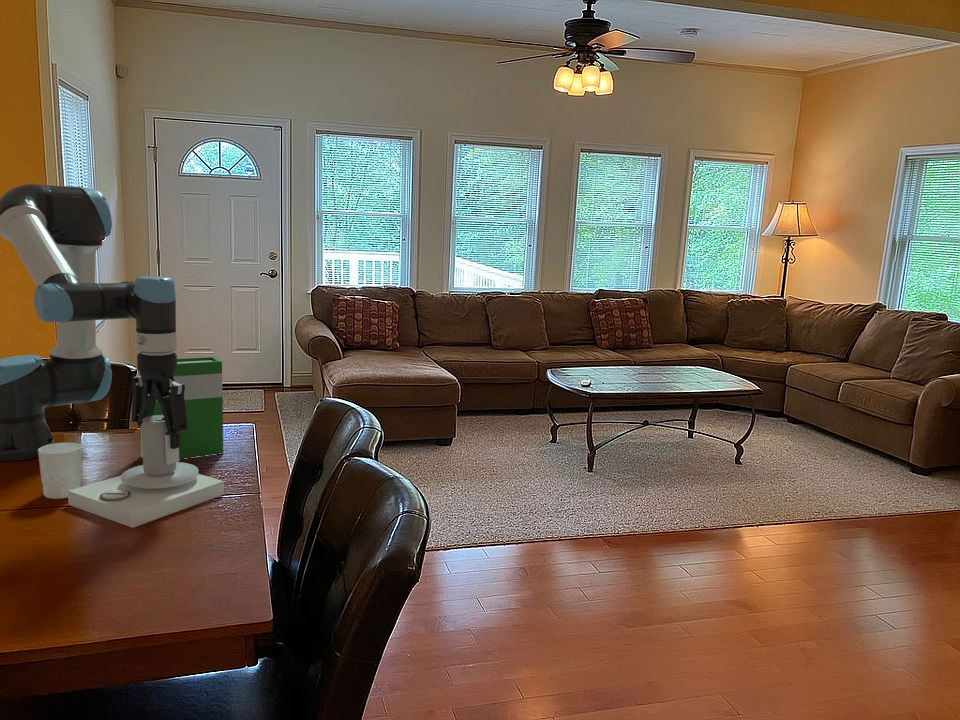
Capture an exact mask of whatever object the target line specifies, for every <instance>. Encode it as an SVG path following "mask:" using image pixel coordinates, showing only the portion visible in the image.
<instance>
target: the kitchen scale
mask: <svg viewBox="0 0 960 720" xmlns="http://www.w3.org/2000/svg"><path fill="white" fill-rule="evenodd" d="M199 470H200V469H199V468H198V467H197V466H196V465H194V464H191V463H187V462H182V461H179V462H176V470H175V471H173V473H172V474H170V475H166V476H160V477H153V476H149V475H148V474H146V473H145V472H144V468H143V464H141V465H137V466H133V467H131V468H128V469H127V470H125V471H123V472H122V474H121V475H117V476H114V477H111V478H106V479H104V480H100V481H97V482H93V483H91V484H86V485H82V486H80V487H79V488H76V489H72V490H69V491H68V506H71V507H74V508H77V509H79V510H81V511H85V512H87V513H91V514H94V515H95V516H99V517H102V518H105V519H106V520H110V521H113V522H115V523H118V524H121V525H123V526H127V527H129V528H131V529H133V528H136V527H138V526H142V525H144V524H147V523H149V522H152V521H155V520H157V519H160V518H163V517H166V516H169V515H171V514H174V513H177V512H180V511H183V510H185V509H188V508H191V507H194V506H196V505H199V504H202V503H204V502H207V501H210V500H212V499H215V498H218V497H220V496H223V495H225V482H224V480H220V479H217V478H215V477H211V476H207V475H204V474H200V473H199Z"/></svg>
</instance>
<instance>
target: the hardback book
mask: <svg viewBox="0 0 960 720" xmlns="http://www.w3.org/2000/svg"><path fill="white" fill-rule="evenodd" d="M141 375H142V372H139V376H141ZM173 377H174V380H175V382H176V383H178V384H182V383H183V384H184V385H185V391H184V400H185V409H186V419H187V430H185V431H181V432H180V447H179V459H184V458H191V457H196V456H205V455H210V454H211V455H212V454H219V453H223V454H224V417H223V416H224V413H223V408H224V407H223V406H224V404H223V361H222V360H221V359H219V358H217V357H216V356H201V357H200V356H199V357H198V356H197V357H181V358H179V357H177V369H176V370H175V371H174V372H173ZM167 397H169V395H168V396H167ZM163 398H165V397H163ZM154 415H163V412H162V408H161V405H160V403H159V402H158V401H157V399H156V404H155V408H154V412H153V416H154Z"/></svg>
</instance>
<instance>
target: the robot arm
mask: <svg viewBox="0 0 960 720" xmlns="http://www.w3.org/2000/svg"><path fill="white" fill-rule="evenodd" d="M112 229H113V221H112V213H111V209H110V206H109V203H108V201H107V199H106V198H105V196H104V195H103V193H102V192H101V191H99V190H97V189H96V188H95V189H94V188H90V187H89V188H88V187H82V186H69V185H68V186H67V185H51V184H50V185H49V184H38V183H26V184H21V185H18V186H15V187H13V188H10V189H9V190H7V191H6V192H5V193H4V194H3V195H2V196H1V197H0V236H1V237H2V238H3V239H4V240H6V241H8V242H9V243H11V244H12V246H13V248H14V250H15V251H16V254H17V255H18V256H19V258H20V261H22V263H23V265H24V267H25V268H26V270H27V272H28V273H29V275H30V277H31V278H32V280H33V282H34V283H35V285H36V287H35V290H34V292H33V307H34V309H35V313H36V316H37V317H38V319H39V320H40V321H42V322H46V323H56V345H55V346H54V347H52V348H51V349H50V350H49V359H45V360H44V359H43V358H42V357H41V355H38V354H25V355H24V354H22V355H14V356H9V357H5V358H1V359H0V462H16V461H23V460H30V459H35V458H39V456H38V449H39V448H41V447H43V446H46V445H49V444H55V438H54V436H53V435H52V432H51V430H50V427H49V426H48V424H47V423H48V422H47V421H46V417H45V409H46V408H50V407H59V406H65V405H72V404H73V405H75V404H81V403H82V404H87V403H89V402H90V403H91V402H94V401H100V400H102V399H103V398H104V397H106V396H107V394H108V393H109V392H110V391H109V390H110V388H111V385H112V377H113V372H112V369H111V368H112V367H111V366H112V365H111V361H110V359H109V358H108V356H106V355H103V349H101V348H100V347H98V346H97V341H96V340H97V339H96V338H97V337H96V333H97V331H96V329H97V327H96V326H97V325H96V321H103V320H104V321H105V320H124V319H125V320H126V319H134V320H135V327H136V328H135V332H136V350H137V351H138V353H137V354H136V365H137V366H136V367H137V371H138V372H139V373H140V372H142V375H141V376H140V375H138V376H137V375H136V376H132V377H131V384H132V403H131V405H132V406H131V422H133V423H136V424H137V427H139V439H140V440H139V441H140V457H141V458H143V452H142V436H141V424H142V423H143V418H145V417H149V416H153V412H154V408H155V404H156V399H157V401H158V402H159V403H160V405H161V408H162V412H163V416H164V419H165V423H166V427H167V430H168V432H166V433H165V454H166V464H167V465H169V464H172V463H176V462H180V460H179V447H180V432H181V431H185V430H187V419H186V409H185V400H184V391H185V385H184V384H183V383H182V384H178V383H176V382H175V380H174V377H173V372H174V371H175V370H176V369H177V358H178V356H177V355H178V354H177V353H176V352H175V351H177V349H178V342H177V341H178V340H177V313H176V312H177V306H176V305H177V304H176V303H177V302H176V301H177V293H176V287H175V286H176V285H175V281H174V279H173V278H171V277H169V276H159V275H156V276H154V275H152V276H151V275H149V276H148V275H146V276H145V275H144V276H138V277H136V278H135V280H134V281H133V280H132V281H128V280H127V281H120V282H111V283H110V282H106V283H104V282H103V283H102V282H99V283H98V282H97V283H96V252H97V251H98V250H99V249H100V248H101V247H102V246H103V238H104V239H106V238H108V237H109V236H110V235H111V233H112ZM168 395H169V397H167V396H168ZM163 397H165V398H163Z"/></svg>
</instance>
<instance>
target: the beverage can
mask: <svg viewBox="0 0 960 720" xmlns="http://www.w3.org/2000/svg"><path fill="white" fill-rule="evenodd" d="M166 432H168V430H167V427H166V423H165V419H164V416H163V415H154V416H149V417H145V418H143V423H142V424H141V436H142V452H143V457H142V465H143V468H144V472H145V473H146V474H148V475H149V476H153V477H160V476H166V475H170V474H172V473H173V471H175V470H176V463H172V464H169V465H167V464H166V454H165V433H166Z"/></svg>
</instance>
